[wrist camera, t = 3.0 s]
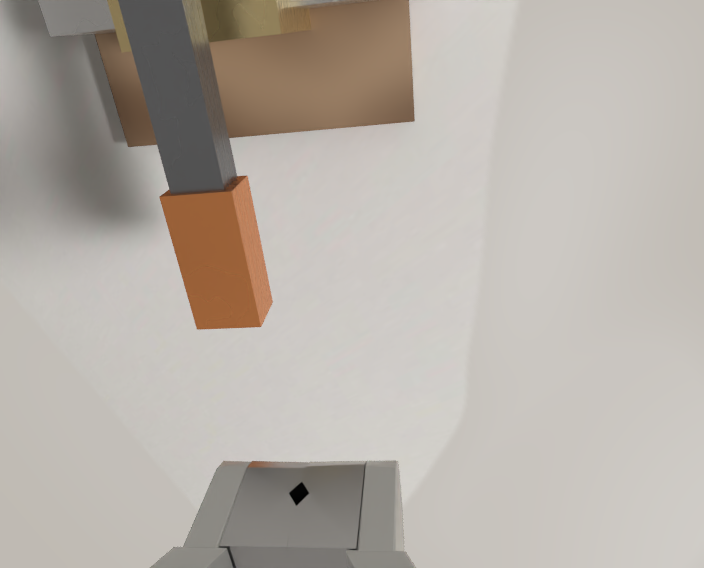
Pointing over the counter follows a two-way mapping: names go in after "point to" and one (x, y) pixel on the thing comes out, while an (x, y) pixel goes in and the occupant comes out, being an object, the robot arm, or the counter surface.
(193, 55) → the valve lever
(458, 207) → the counter surface
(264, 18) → the valve body
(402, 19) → the base board
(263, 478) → the robot arm
